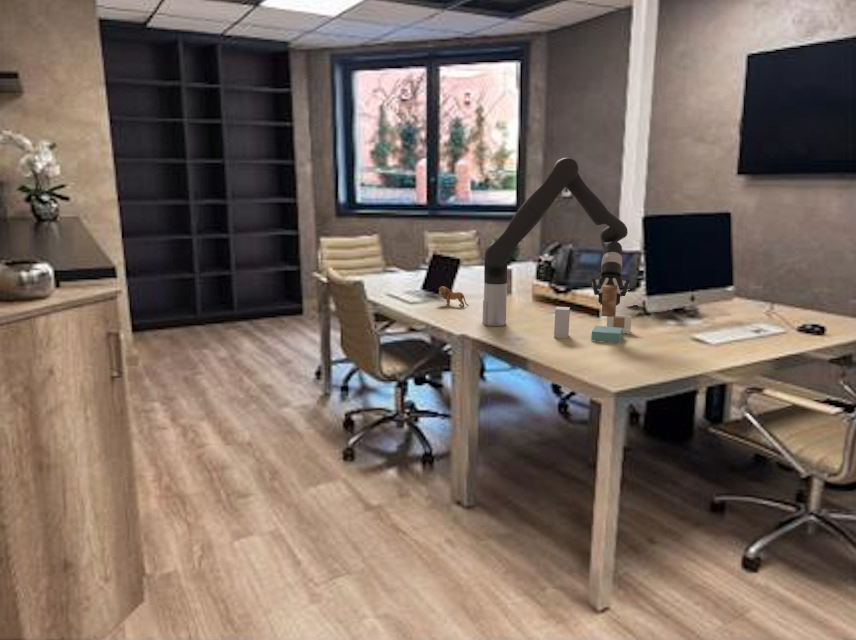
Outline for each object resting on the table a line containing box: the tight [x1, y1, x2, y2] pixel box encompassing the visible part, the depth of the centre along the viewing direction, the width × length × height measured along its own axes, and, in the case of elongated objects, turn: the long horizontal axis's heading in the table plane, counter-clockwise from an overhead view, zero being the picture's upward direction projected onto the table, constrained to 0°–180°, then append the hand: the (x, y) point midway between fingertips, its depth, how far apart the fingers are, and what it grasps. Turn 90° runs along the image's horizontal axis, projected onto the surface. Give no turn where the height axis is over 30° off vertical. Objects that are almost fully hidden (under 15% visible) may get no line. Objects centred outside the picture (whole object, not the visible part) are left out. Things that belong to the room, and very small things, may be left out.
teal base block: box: [590, 325, 623, 344], centre depth 241 cm, size 10×10×4 cm
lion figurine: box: [438, 286, 470, 308], centre depth 301 cm, size 15×5×9 cm, turn 72°
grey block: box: [553, 306, 571, 339], centre depth 244 cm, size 5×5×11 cm
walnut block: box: [600, 285, 617, 317], centre depth 238 cm, size 5×5×11 cm
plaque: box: [606, 314, 632, 335], centre depth 252 cm, size 9×4×7 cm, turn 74°
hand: (609, 303), depth 237 cm, fingers closed on walnut block, 5 cm apart
